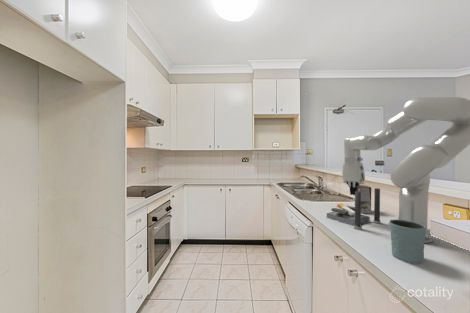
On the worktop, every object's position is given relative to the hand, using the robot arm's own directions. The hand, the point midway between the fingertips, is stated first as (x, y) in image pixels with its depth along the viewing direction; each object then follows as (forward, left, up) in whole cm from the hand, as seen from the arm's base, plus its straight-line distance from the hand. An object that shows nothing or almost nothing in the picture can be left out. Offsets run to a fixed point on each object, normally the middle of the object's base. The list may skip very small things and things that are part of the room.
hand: (353, 194), depth 114 cm
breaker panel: (+3, 0, -14) cm, 15 cm away
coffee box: (+8, -23, -15) cm, 28 cm away
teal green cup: (-33, +22, -15) cm, 42 cm away
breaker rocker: (+4, 0, -9) cm, 10 cm away
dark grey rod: (-8, +9, -14) cm, 19 cm away
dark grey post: (-8, -8, -14) cm, 18 cm away
